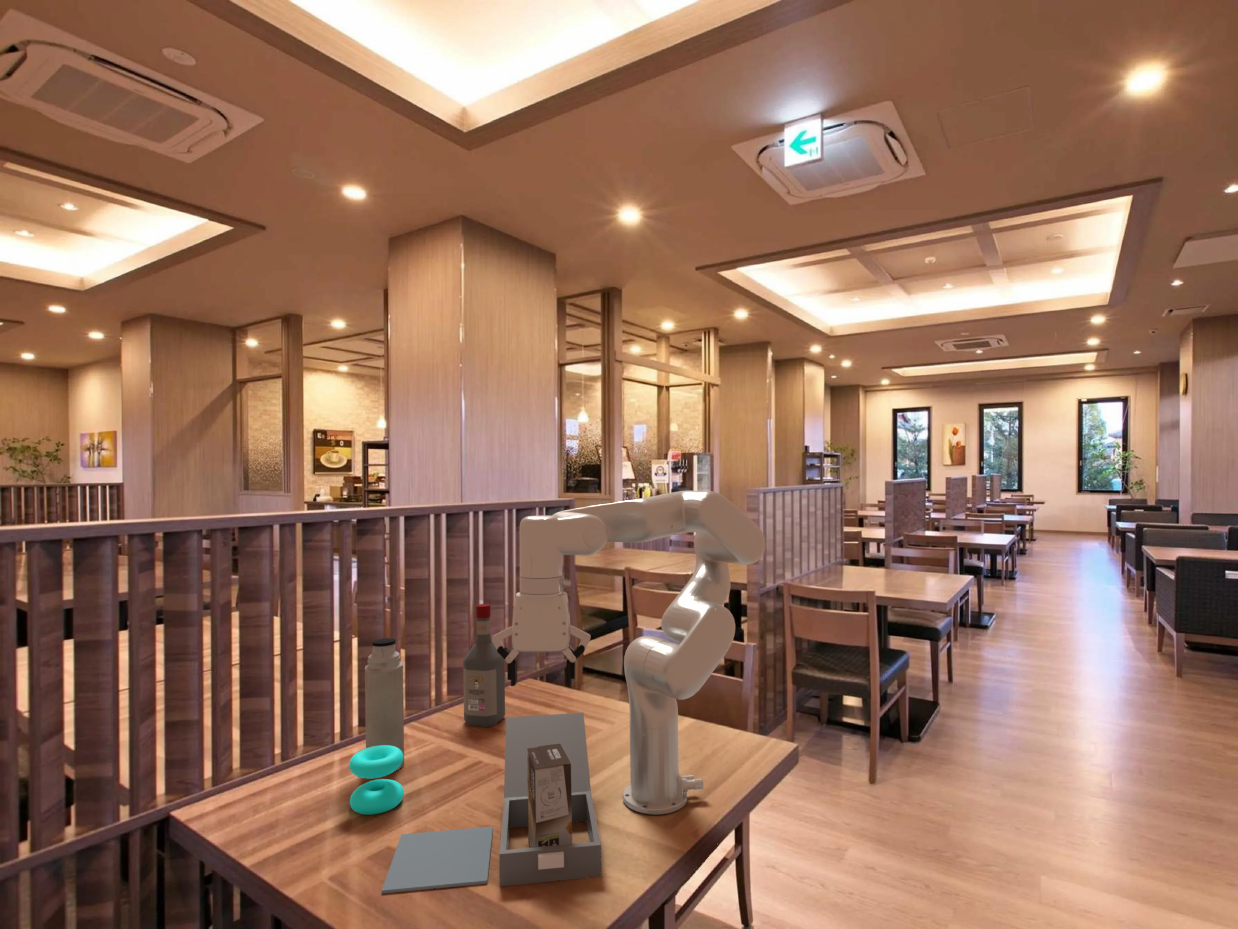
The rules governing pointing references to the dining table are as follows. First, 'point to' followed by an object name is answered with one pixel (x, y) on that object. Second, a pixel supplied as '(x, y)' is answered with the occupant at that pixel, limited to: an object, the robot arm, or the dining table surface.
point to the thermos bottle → (384, 696)
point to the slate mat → (440, 860)
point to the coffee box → (549, 796)
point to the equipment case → (549, 847)
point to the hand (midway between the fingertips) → (541, 683)
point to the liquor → (483, 676)
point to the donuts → (380, 791)
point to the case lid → (541, 733)
